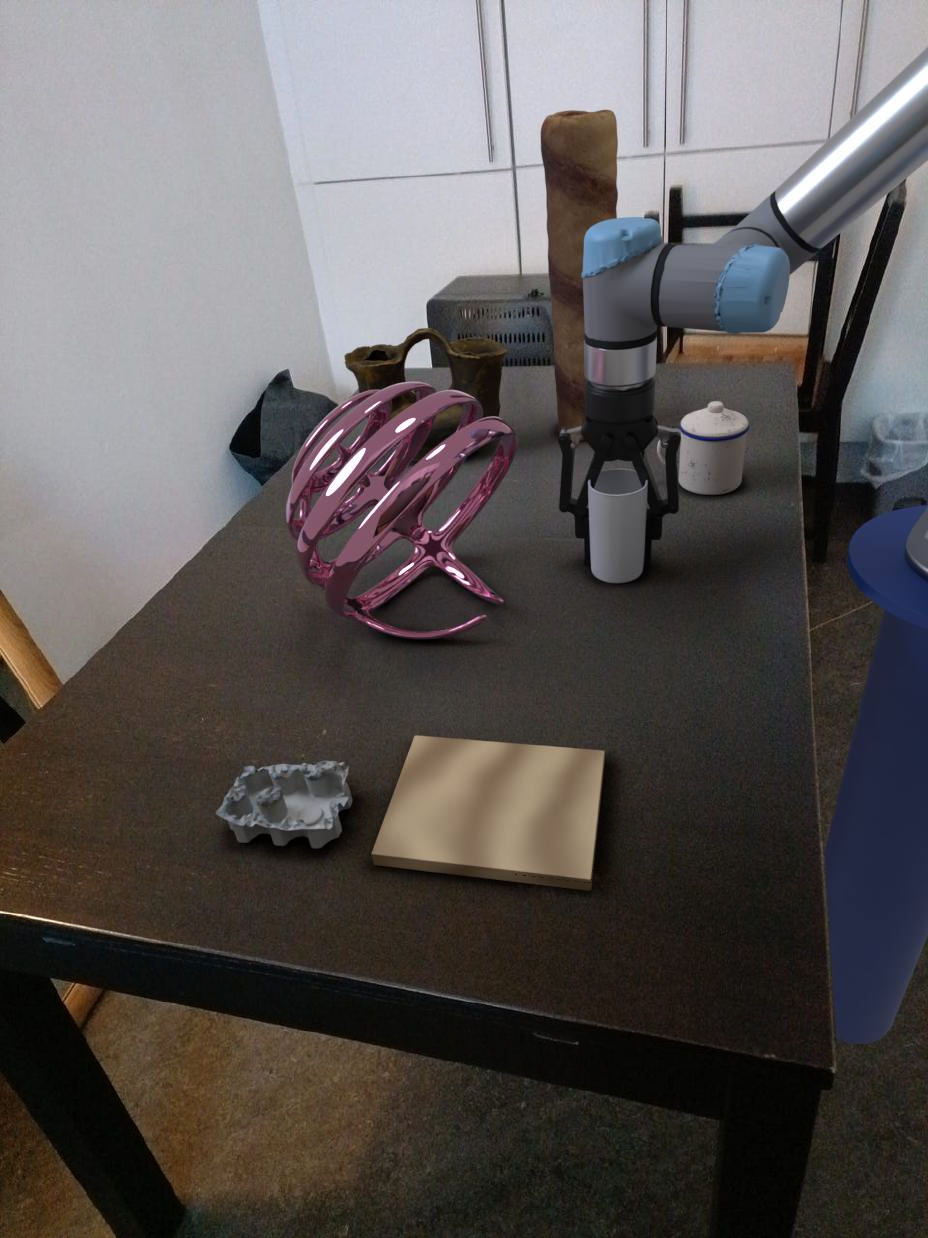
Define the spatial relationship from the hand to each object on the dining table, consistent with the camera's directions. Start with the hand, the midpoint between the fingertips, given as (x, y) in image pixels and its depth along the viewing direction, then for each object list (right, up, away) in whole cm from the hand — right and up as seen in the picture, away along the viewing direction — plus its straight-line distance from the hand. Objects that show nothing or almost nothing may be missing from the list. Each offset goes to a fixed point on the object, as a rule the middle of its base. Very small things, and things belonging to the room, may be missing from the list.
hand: (618, 559), depth 102 cm
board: (-16, -24, -30) cm, 42 cm away
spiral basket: (-24, -5, -2) cm, 25 cm away
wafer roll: (+1, +24, +34) cm, 42 cm away
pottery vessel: (-23, +20, +32) cm, 45 cm away
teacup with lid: (+14, +12, +15) cm, 24 cm away
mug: (0, -1, 0) cm, 1 cm away
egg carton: (-35, -25, -28) cm, 51 cm away
